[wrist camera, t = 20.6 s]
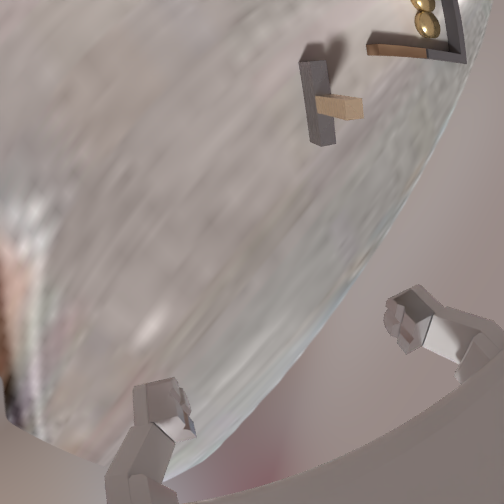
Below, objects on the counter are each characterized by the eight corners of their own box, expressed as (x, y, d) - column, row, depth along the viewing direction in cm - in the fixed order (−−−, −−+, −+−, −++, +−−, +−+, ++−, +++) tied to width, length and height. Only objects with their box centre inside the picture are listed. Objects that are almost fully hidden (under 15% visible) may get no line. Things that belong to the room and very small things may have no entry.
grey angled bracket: (400, -31, 24) (411, -34, 22) (442, -17, 25) (453, -18, 23) (417, 57, 32) (429, 58, 30) (455, 62, 33) (466, 64, 31)
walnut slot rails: (347, -43, 22) (358, -48, 20) (397, -32, 24) (409, -35, 22) (367, 55, 31) (379, 55, 29) (414, 57, 32) (426, 58, 30)
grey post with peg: (298, 62, 30) (339, 59, 22) (313, 61, 30) (357, 58, 23) (309, 141, 35) (349, 159, 28) (323, 138, 35) (365, 156, 28)
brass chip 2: (409, 13, 28) (417, 12, 27) (427, 11, 28) (434, 10, 27) (419, 40, 31) (427, 40, 29) (436, 36, 31) (443, 36, 29)
